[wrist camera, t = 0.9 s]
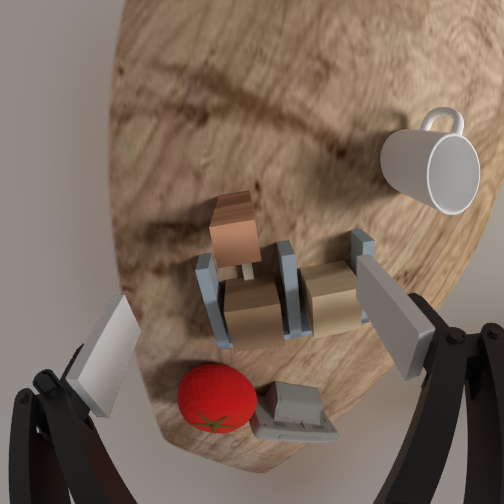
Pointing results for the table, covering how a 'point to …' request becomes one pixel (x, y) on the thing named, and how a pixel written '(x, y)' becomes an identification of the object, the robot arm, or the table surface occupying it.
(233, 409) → the tomato
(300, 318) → the lane shelf
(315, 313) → the oak block
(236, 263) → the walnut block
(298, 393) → the digital clock
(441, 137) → the cup
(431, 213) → the table surface
